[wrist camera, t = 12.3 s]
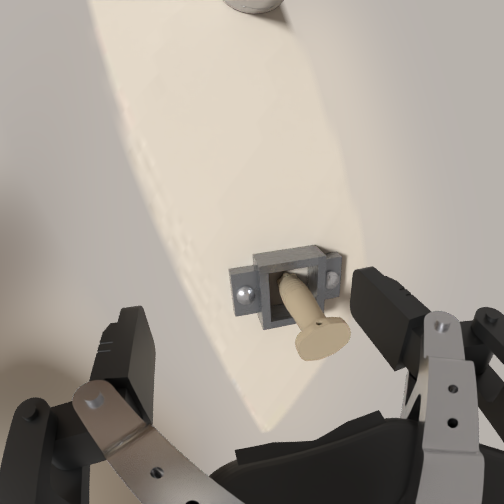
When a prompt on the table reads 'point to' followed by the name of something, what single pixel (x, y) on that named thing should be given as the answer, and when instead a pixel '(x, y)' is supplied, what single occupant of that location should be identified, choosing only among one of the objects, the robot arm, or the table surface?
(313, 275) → the chain end
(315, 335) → the handle
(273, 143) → the table surface
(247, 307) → the bracket
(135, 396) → the robot arm
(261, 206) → the table surface
